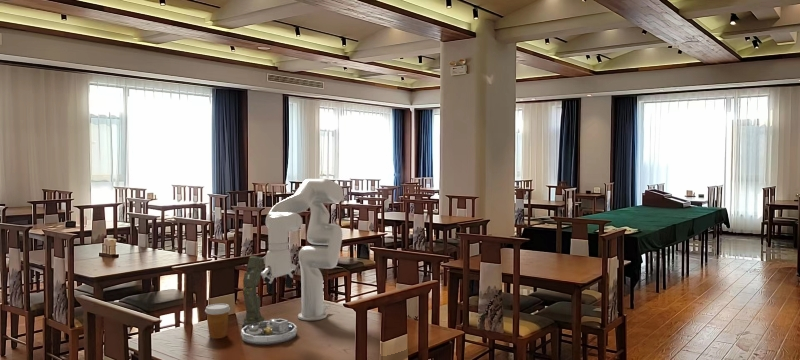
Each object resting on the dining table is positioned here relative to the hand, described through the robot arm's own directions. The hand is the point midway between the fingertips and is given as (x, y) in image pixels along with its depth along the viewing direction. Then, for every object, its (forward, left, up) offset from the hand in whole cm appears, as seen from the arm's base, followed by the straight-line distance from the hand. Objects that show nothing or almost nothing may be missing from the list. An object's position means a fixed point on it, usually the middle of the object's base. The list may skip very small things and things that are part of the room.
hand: (279, 290), depth 228 cm
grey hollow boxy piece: (0, 0, -18) cm, 18 cm away
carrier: (0, -6, -19) cm, 20 cm away
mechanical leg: (-7, -24, -19) cm, 32 cm away
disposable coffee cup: (+12, -23, -19) cm, 32 cm away
